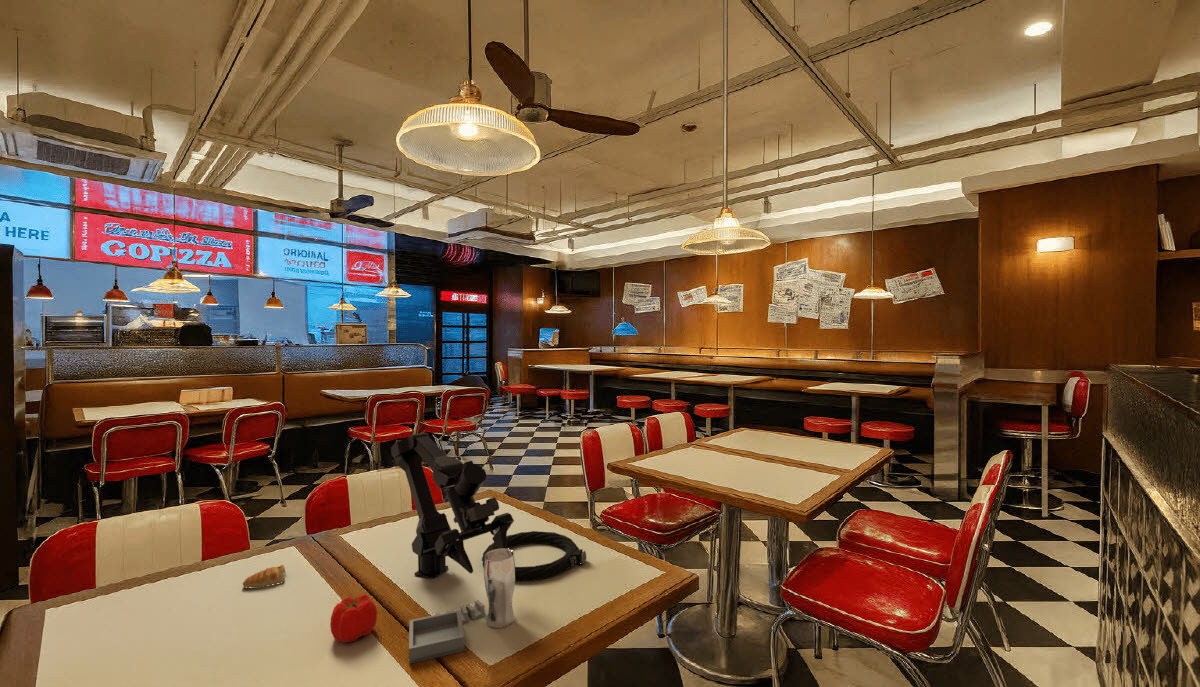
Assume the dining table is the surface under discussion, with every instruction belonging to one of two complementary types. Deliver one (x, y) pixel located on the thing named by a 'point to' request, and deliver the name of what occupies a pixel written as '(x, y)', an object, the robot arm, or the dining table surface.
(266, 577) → the pastry
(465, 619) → the clip
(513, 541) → the cable lock
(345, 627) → the tomato
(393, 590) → the dining table surface
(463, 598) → the dining table surface
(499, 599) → the beer glass
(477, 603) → the clip
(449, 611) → the clip
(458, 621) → the holder
